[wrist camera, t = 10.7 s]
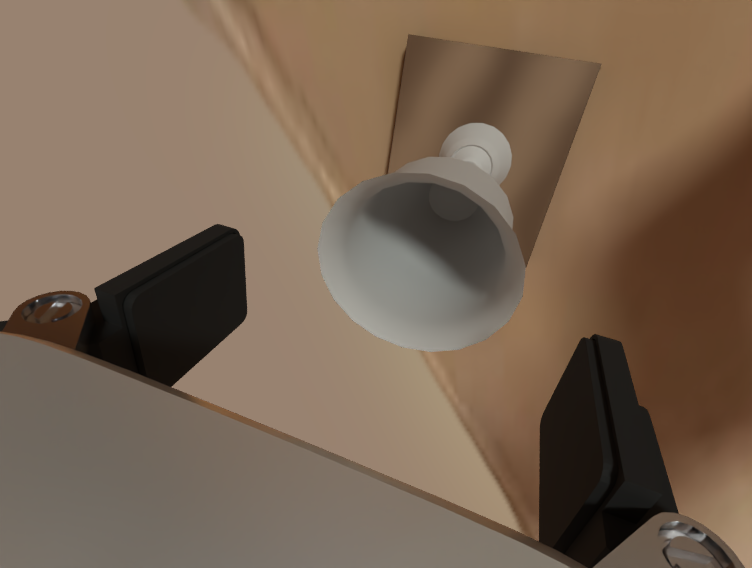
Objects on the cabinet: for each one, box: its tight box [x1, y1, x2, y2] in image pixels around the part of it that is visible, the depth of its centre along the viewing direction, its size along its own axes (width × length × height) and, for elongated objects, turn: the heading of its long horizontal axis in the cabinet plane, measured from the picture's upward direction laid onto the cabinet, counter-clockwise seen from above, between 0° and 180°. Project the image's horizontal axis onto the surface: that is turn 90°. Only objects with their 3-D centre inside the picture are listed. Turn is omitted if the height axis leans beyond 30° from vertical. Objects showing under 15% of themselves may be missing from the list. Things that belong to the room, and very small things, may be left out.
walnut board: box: [388, 34, 601, 266], centre depth 30 cm, size 12×14×2 cm
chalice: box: [318, 123, 526, 352], centre depth 22 cm, size 7×7×18 cm
